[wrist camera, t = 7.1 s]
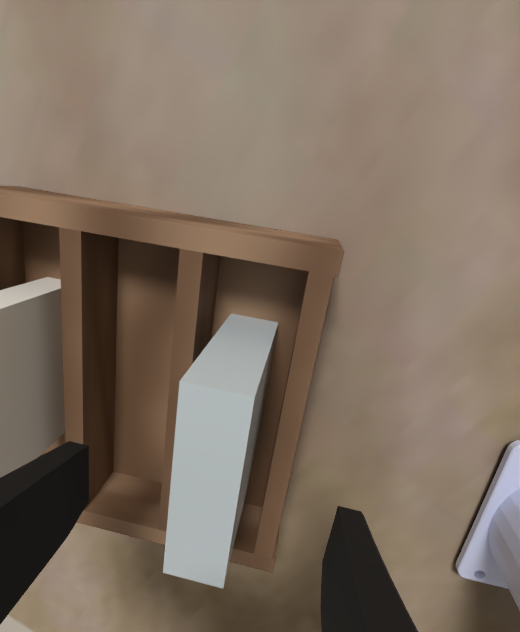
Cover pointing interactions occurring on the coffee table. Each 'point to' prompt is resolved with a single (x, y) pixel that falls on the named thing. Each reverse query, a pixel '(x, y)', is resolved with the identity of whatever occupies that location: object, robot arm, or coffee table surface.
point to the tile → (30, 371)
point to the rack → (167, 341)
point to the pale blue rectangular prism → (216, 447)
